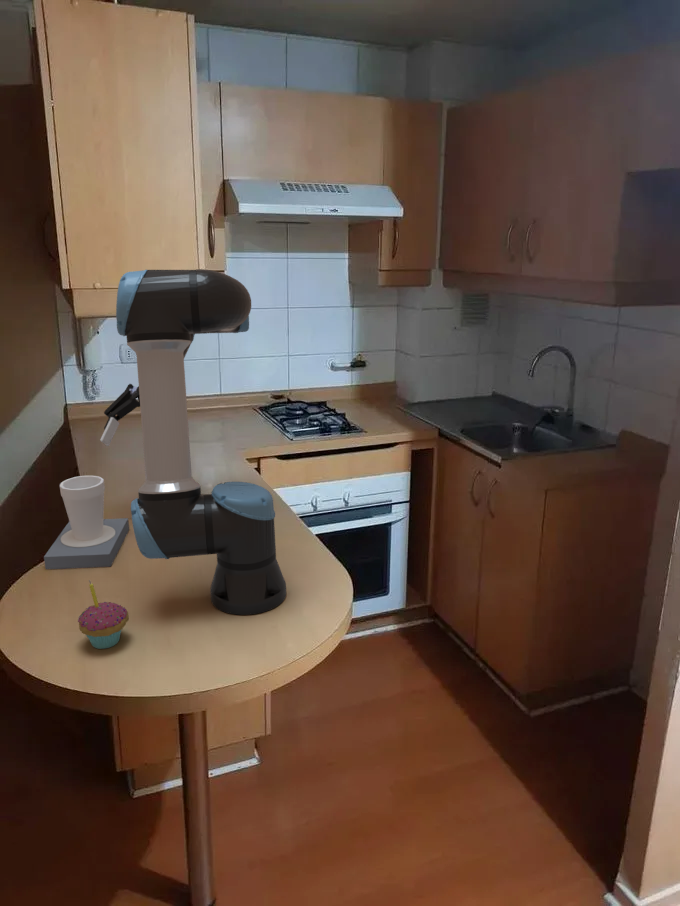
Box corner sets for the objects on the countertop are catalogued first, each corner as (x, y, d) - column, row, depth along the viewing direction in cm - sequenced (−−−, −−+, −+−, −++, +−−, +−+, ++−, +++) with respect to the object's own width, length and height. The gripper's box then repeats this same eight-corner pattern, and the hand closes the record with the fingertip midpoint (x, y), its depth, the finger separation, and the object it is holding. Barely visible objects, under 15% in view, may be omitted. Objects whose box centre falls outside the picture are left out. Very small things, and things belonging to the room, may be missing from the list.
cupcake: (71, 649, 125) (62, 589, 122) (102, 625, 133) (94, 567, 129) (110, 659, 122) (103, 597, 119) (140, 633, 130) (134, 575, 126)
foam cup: (95, 523, 170) (89, 472, 166) (118, 533, 164) (111, 481, 160) (59, 536, 163) (51, 483, 159) (81, 547, 157) (73, 493, 153)
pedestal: (110, 566, 156) (109, 552, 155) (45, 569, 155) (43, 555, 154) (129, 529, 175) (127, 517, 174) (71, 531, 174) (69, 519, 173)
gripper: (209, 384, 173) (177, 459, 165) (129, 377, 183) (95, 448, 175) (195, 366, 167) (161, 444, 159) (113, 360, 177) (76, 433, 169)
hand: (126, 446), depth 167 cm, fingers open, 13 cm apart
